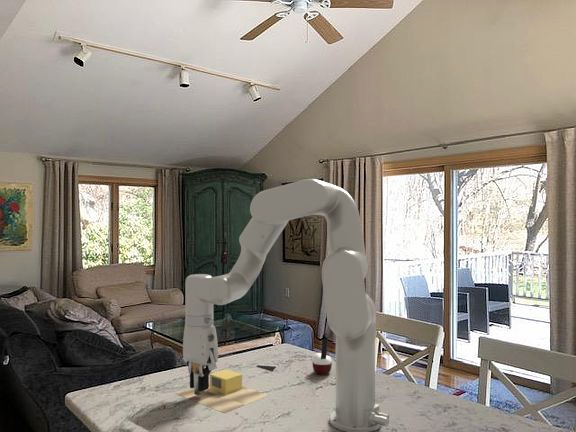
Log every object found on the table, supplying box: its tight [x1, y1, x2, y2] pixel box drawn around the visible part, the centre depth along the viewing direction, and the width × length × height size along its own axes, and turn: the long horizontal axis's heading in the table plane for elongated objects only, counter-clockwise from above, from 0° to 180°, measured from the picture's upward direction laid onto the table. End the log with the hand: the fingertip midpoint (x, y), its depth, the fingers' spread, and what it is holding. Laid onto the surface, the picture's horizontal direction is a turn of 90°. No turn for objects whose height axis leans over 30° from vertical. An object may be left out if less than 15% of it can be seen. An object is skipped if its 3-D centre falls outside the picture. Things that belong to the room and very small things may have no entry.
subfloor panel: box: [176, 382, 269, 414], centre depth 128 cm, size 20×16×1 cm
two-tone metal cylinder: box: [192, 362, 206, 395], centre depth 126 cm, size 3×3×9 cm
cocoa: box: [311, 338, 333, 376], centre depth 149 cm, size 10×6×12 cm, turn 168°
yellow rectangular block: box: [209, 369, 243, 394], centre depth 133 cm, size 7×6×4 cm
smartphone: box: [255, 363, 279, 373], centre depth 150 cm, size 7×15×1 cm, turn 167°
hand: (199, 387), depth 126 cm, fingers closed on two-tone metal cylinder, 2 cm apart
